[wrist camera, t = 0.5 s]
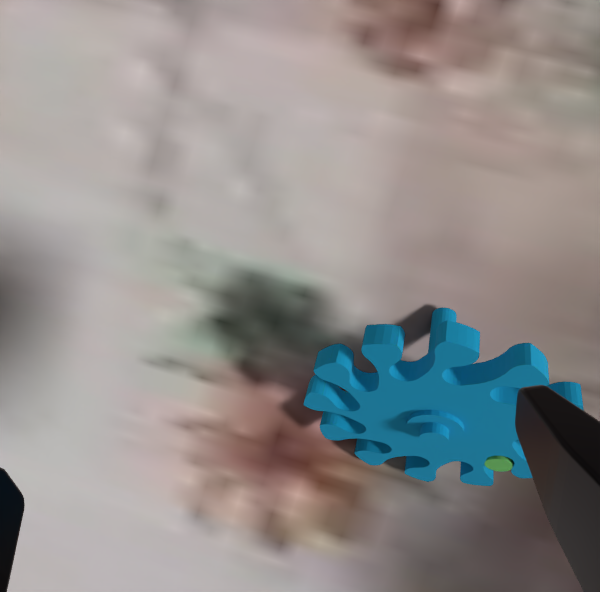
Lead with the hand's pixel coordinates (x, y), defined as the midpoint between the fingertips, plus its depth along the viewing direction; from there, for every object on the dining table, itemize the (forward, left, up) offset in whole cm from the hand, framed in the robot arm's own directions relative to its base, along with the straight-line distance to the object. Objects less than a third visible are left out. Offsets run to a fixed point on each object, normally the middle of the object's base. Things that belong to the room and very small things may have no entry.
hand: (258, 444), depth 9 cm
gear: (-5, -5, -14) cm, 16 cm away
